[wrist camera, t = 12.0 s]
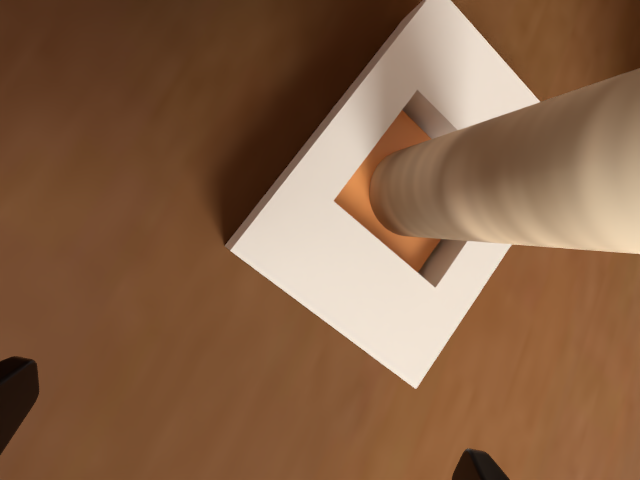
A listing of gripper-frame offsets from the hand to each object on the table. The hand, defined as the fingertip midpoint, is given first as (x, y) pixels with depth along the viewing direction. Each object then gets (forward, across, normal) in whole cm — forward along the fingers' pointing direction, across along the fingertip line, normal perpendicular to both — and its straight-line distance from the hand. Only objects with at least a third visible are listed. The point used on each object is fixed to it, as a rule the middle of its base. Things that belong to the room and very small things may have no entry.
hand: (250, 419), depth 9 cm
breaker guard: (+14, -4, -2) cm, 14 cm away
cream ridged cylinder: (+12, -4, -2) cm, 13 cm away
